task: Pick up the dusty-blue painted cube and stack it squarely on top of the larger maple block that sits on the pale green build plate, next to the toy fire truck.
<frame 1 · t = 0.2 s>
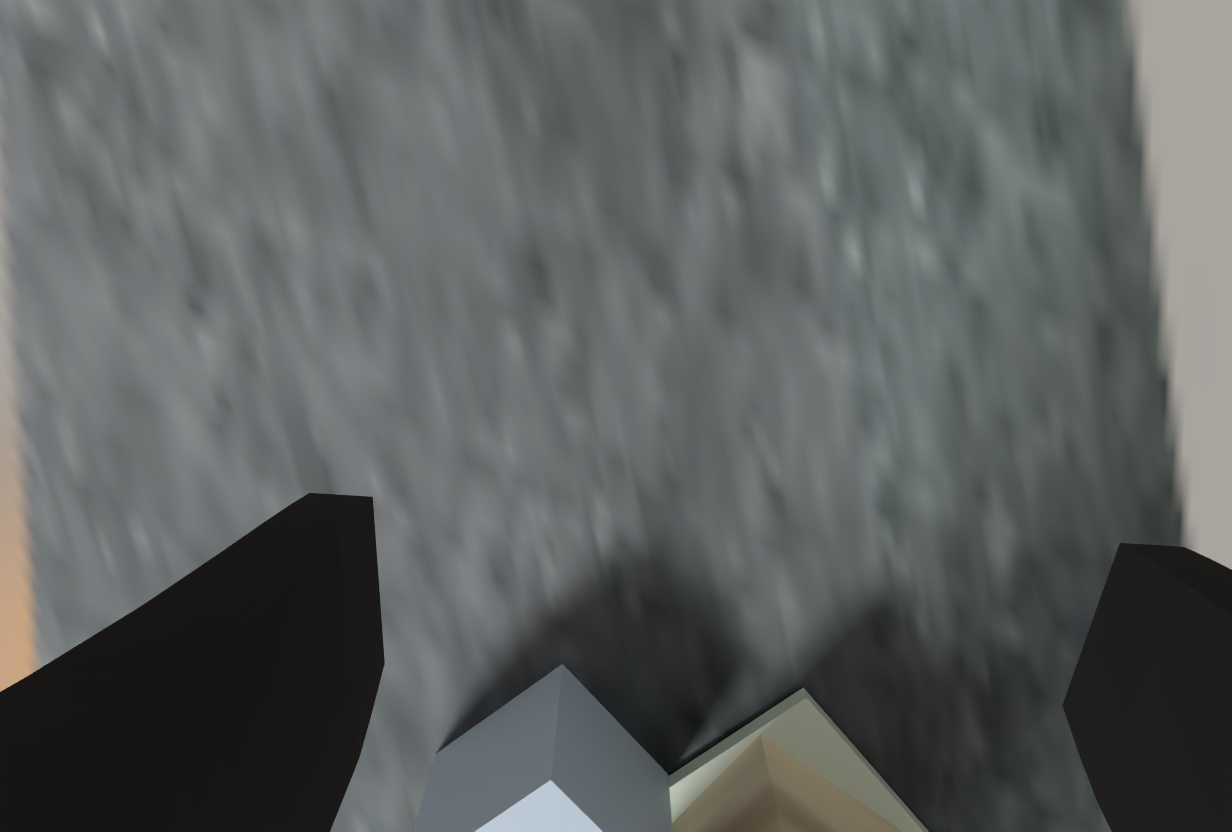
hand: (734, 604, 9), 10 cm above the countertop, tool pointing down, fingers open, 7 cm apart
blue block: (552, 761, 22), on the countertop
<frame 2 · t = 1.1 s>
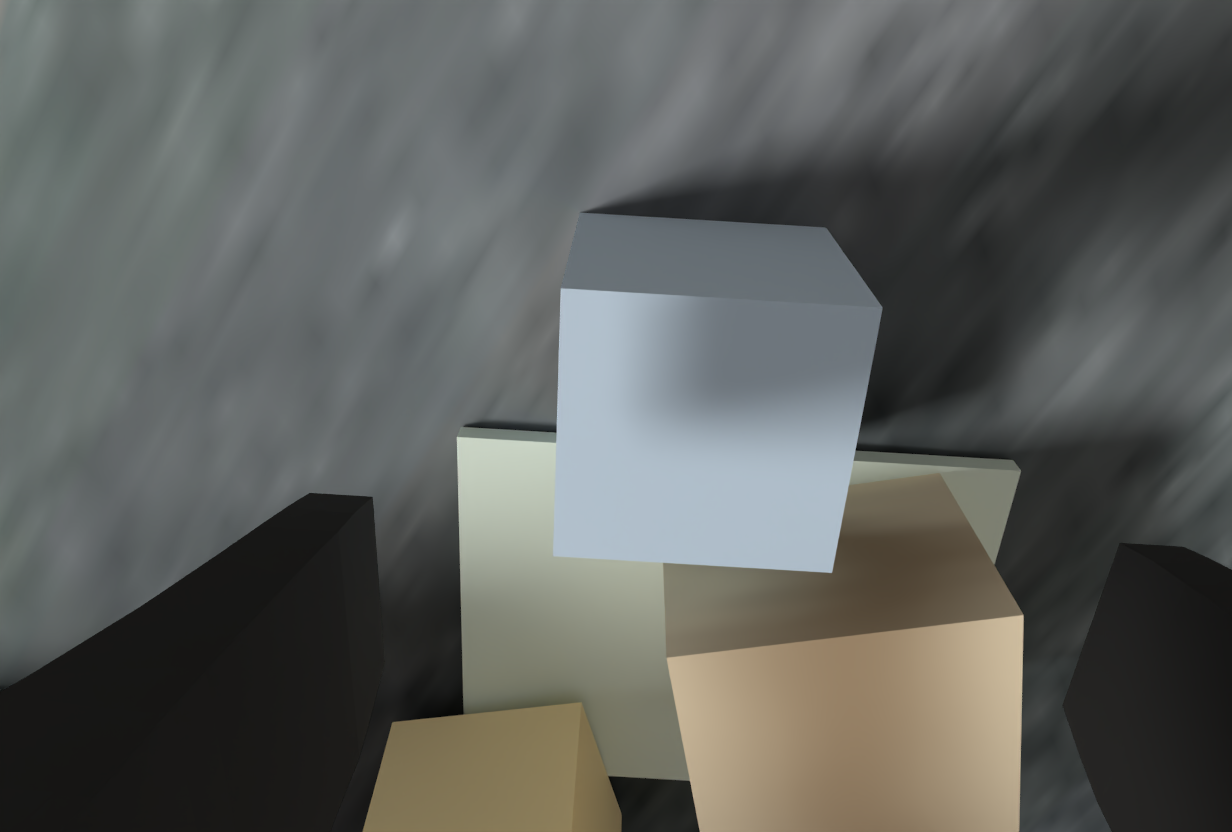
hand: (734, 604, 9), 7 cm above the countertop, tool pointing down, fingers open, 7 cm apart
ochre block: (511, 770, 20), on the countertop, tilted 9°, touching build plate
blue block: (691, 333, 16), on the countertop
maple block: (809, 603, 18), resting on build plate
build plate: (714, 620, 18), on the countertop
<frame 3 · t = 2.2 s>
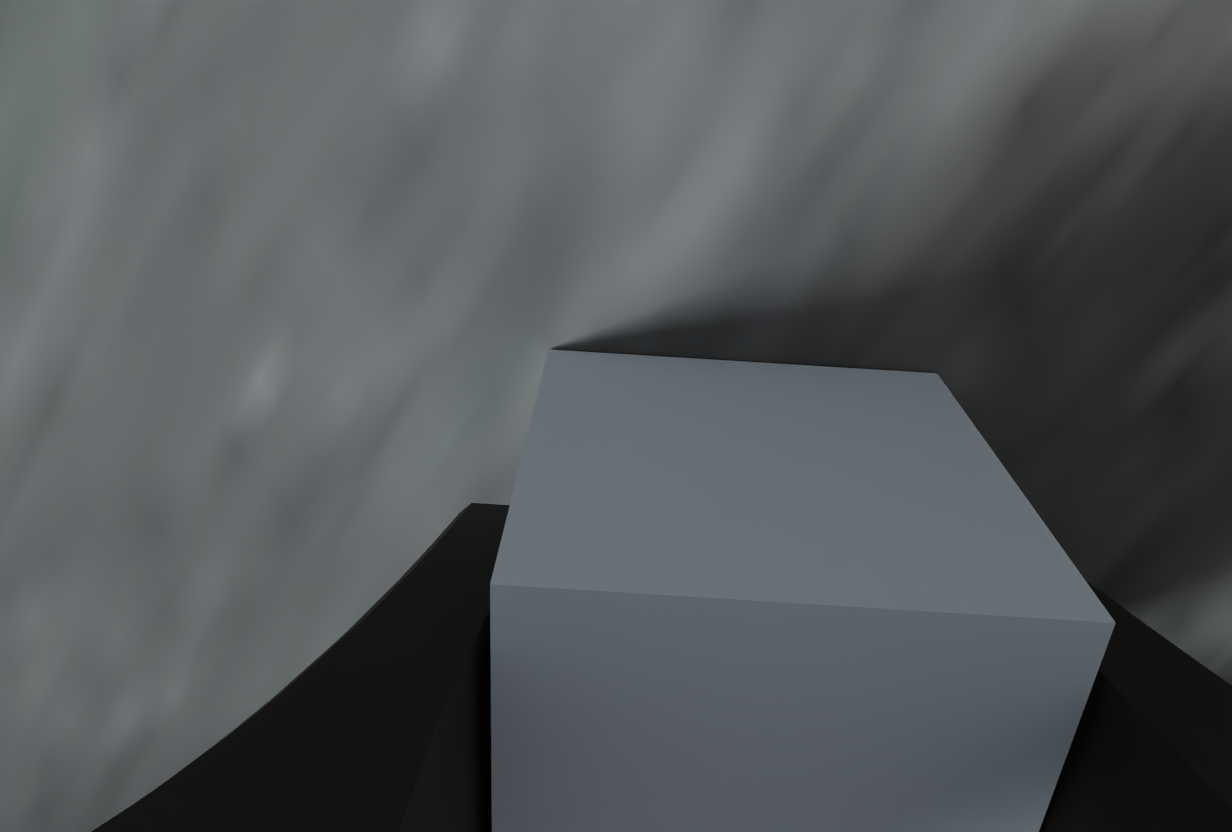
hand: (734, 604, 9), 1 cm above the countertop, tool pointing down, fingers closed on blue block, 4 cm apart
blue block: (722, 525, 10), on the countertop, touching gripper
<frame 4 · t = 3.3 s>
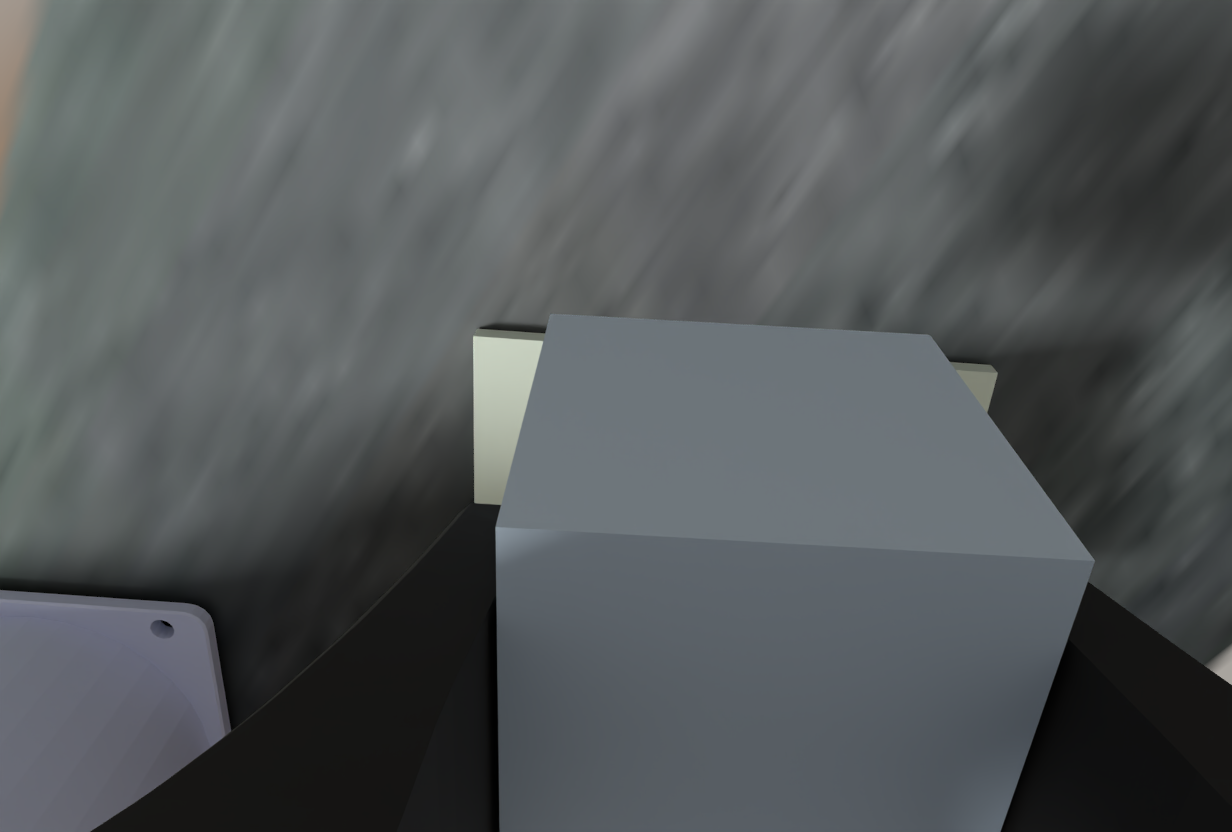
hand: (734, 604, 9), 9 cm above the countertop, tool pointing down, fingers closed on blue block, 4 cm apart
blue block: (720, 486, 11), point 7 cm above the countertop, touching gripper
build plate: (711, 520, 20), on the countertop
when the fingers open (7 cm above the countertop, at t = 4.4 s): blue block stays where it is, resting on maple block.
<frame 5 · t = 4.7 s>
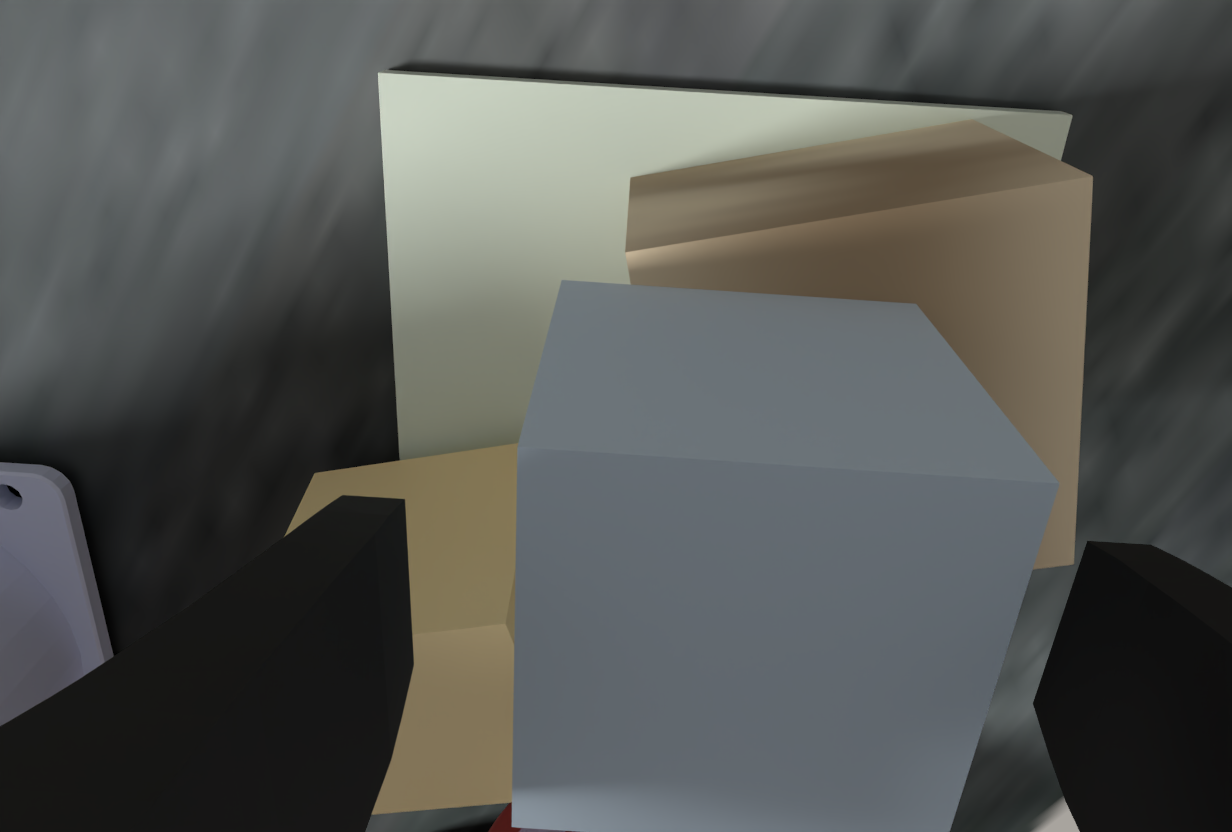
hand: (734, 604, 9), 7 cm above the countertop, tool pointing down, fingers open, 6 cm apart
ochre block: (459, 542, 17), on the countertop, tilted 9°, touching build plate
blue block: (719, 448, 11), point 4 cm above the countertop, touching maple block
maple block: (811, 308, 15), resting on build plate, touching blue block
build plate: (697, 342, 15), on the countertop
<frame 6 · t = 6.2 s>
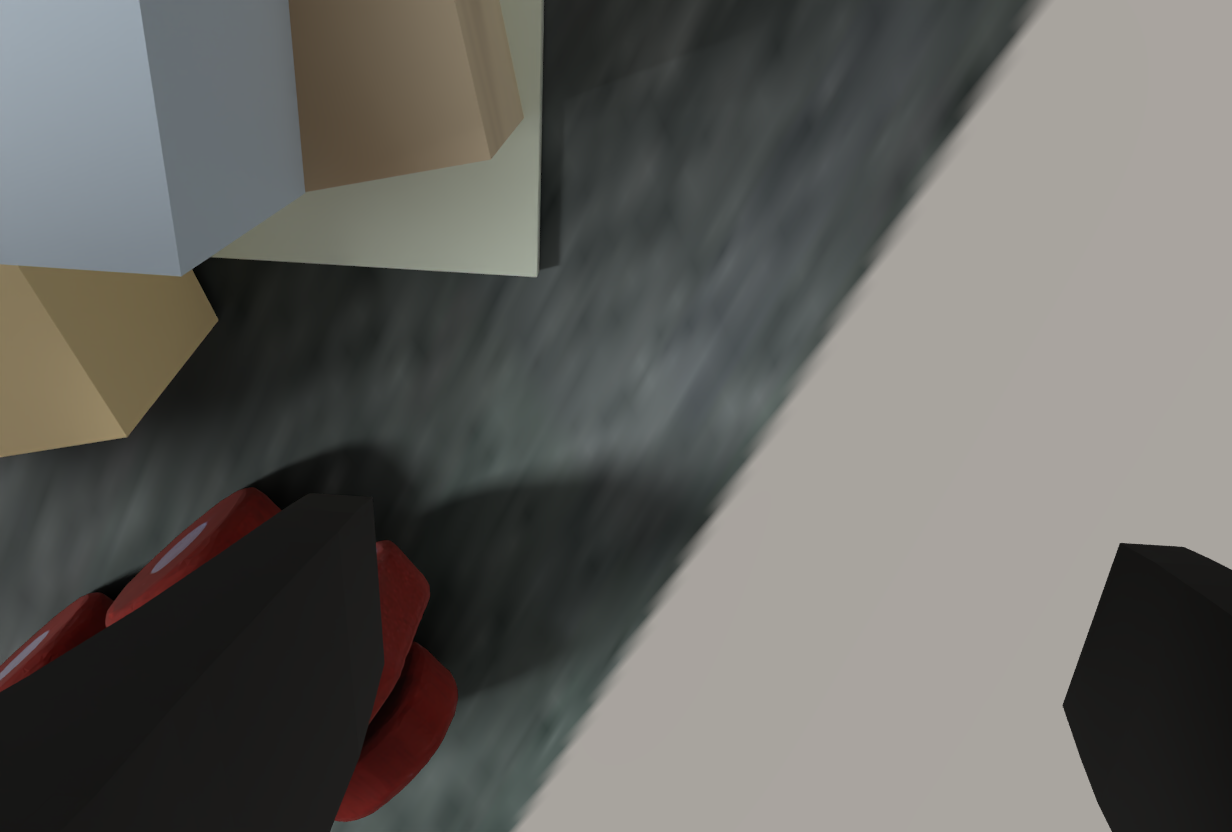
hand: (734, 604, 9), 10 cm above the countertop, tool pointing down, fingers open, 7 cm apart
ochre block: (79, 249, 18), on the countertop, tilted 9°, touching build plate
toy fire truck: (254, 635, 23), on the countertop
blue block: (145, 36, 13), point 4 cm above the countertop, touching maple block
build plate: (267, 40, 17), on the countertop
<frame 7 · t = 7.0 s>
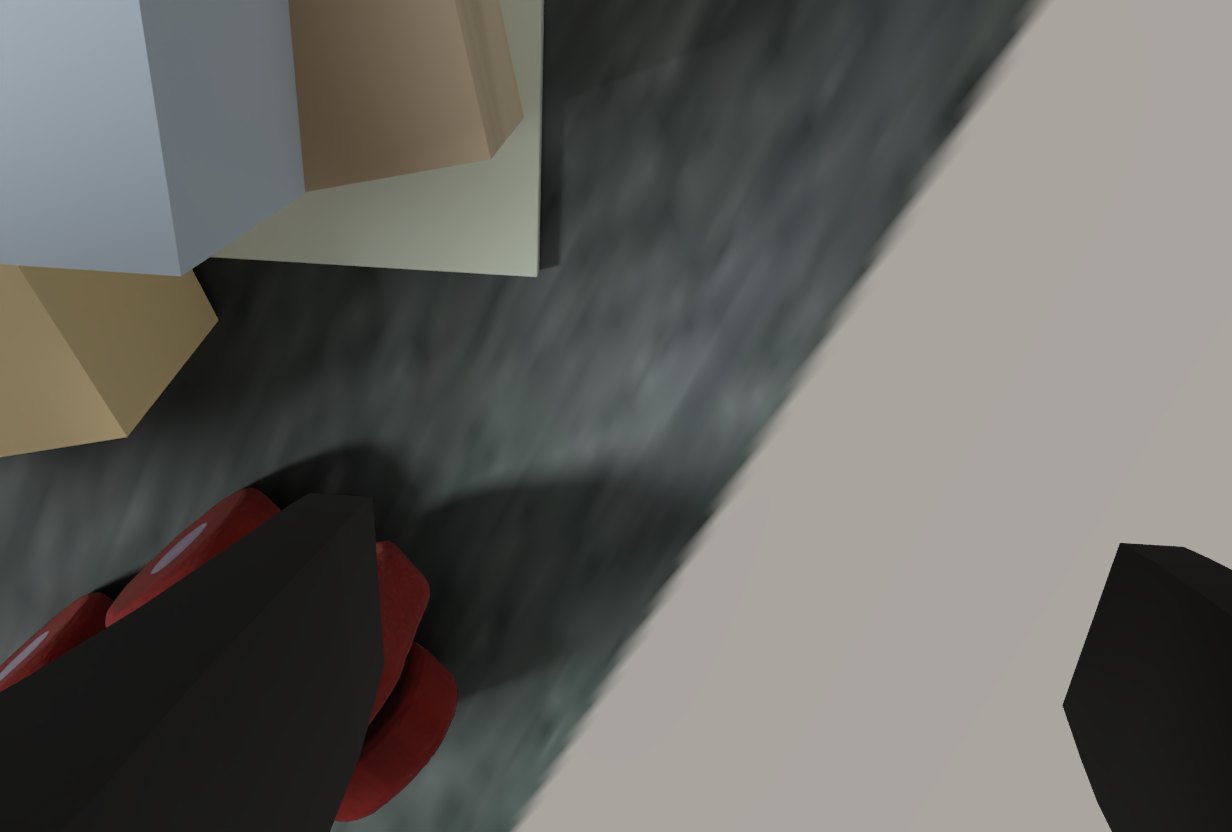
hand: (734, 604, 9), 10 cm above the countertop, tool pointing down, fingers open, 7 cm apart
ochre block: (79, 249, 18), on the countertop, tilted 9°, touching build plate
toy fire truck: (254, 635, 23), on the countertop
blue block: (145, 36, 13), point 4 cm above the countertop, touching maple block
build plate: (267, 40, 17), on the countertop
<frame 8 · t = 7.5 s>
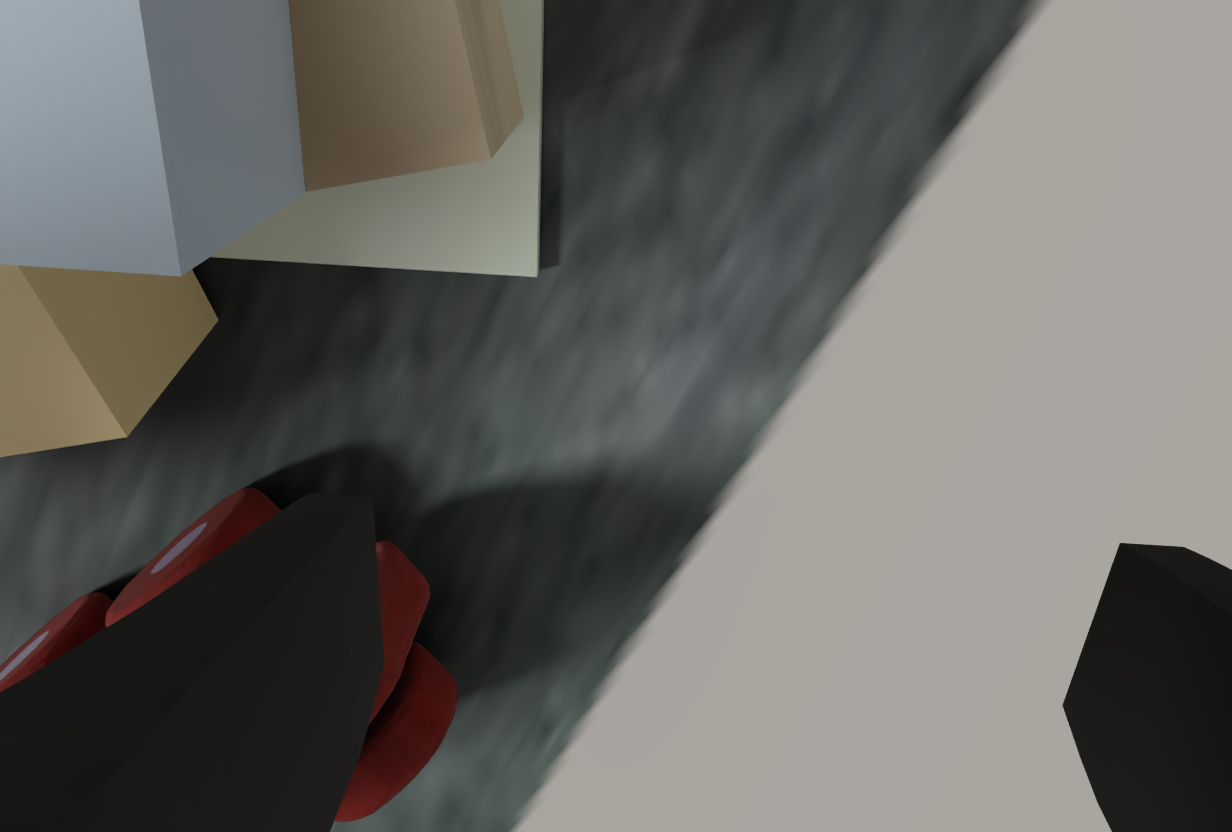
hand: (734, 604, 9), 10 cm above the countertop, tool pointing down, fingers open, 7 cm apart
ochre block: (79, 249, 18), on the countertop, tilted 9°, touching build plate
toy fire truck: (254, 635, 23), on the countertop
blue block: (145, 36, 13), point 4 cm above the countertop, touching maple block
build plate: (267, 40, 17), on the countertop
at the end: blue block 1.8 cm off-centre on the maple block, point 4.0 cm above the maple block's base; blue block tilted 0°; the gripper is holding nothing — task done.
